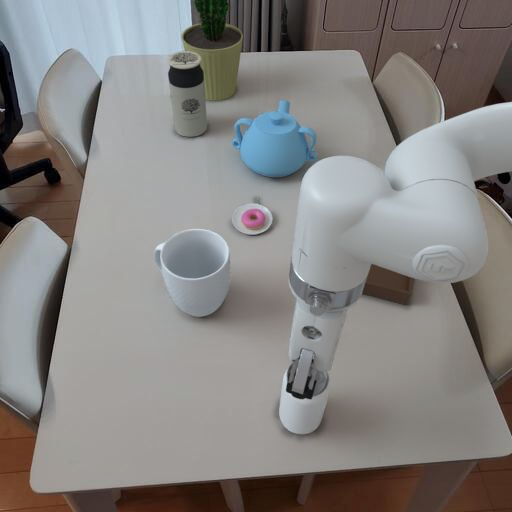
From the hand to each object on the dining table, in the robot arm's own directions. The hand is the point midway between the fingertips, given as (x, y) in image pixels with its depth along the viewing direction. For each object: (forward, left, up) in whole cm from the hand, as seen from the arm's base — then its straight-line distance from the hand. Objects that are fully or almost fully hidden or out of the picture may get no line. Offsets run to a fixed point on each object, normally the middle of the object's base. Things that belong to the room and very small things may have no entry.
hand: (308, 359), depth 61 cm
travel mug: (+44, -63, -17) cm, 79 cm away
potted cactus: (+45, -82, -17) cm, 95 cm away
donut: (+20, -38, -17) cm, 46 cm away
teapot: (+21, -59, -17) cm, 65 cm away
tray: (-4, -32, -17) cm, 36 cm away
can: (0, 0, -17) cm, 17 cm away
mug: (+23, -15, -17) cm, 32 cm away
